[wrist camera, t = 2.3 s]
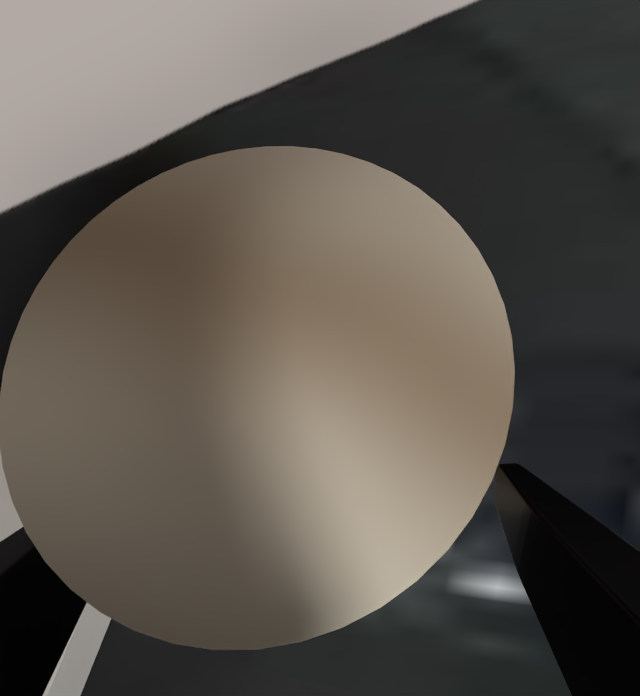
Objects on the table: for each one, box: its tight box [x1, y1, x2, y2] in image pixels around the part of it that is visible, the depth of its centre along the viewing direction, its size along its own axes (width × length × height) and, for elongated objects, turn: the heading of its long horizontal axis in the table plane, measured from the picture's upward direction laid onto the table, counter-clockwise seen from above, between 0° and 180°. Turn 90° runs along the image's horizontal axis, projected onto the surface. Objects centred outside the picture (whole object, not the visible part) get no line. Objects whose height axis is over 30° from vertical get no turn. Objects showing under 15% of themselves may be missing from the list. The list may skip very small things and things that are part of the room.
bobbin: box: [0, 146, 515, 650], centre depth 11 cm, size 7×7×14 cm
